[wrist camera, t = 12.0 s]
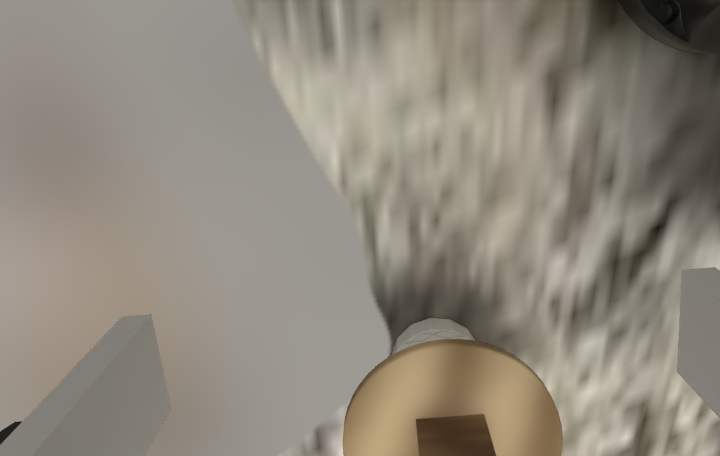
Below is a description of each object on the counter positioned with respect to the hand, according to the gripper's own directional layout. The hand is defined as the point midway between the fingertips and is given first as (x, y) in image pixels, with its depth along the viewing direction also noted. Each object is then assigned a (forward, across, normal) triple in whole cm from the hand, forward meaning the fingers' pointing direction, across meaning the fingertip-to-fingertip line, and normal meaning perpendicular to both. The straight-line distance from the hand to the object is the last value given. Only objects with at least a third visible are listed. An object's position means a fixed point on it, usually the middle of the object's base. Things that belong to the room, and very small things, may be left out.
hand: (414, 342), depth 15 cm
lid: (+19, +2, -16) cm, 25 cm away
